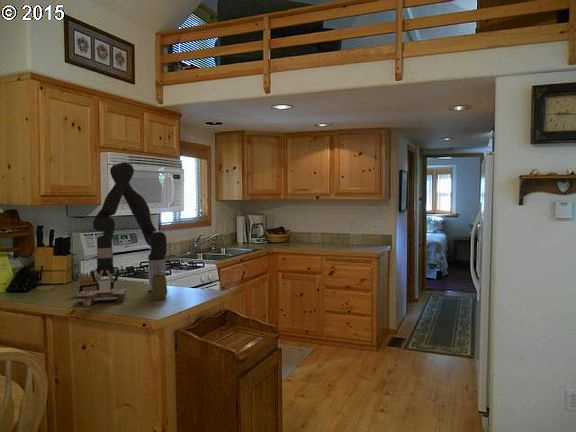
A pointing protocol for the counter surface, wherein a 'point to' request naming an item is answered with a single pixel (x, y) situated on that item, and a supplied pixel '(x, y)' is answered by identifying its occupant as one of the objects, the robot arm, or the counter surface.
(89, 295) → the subfloor plank
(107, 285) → the stud finder
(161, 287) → the squeeze bottle
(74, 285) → the counter surface
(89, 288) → the ammunition clip
